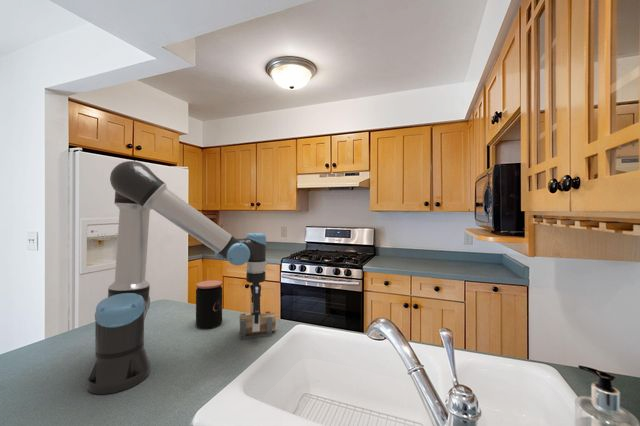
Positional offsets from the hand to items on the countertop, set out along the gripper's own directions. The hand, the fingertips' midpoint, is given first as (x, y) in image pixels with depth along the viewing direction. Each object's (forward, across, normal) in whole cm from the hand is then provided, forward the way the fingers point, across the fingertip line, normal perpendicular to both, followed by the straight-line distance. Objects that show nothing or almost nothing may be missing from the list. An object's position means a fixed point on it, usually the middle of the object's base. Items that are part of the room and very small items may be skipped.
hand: (255, 324), depth 114 cm
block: (+3, 0, -1) cm, 3 cm away
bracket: (+4, 0, 0) cm, 4 cm away
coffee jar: (+4, +14, +19) cm, 24 cm away
